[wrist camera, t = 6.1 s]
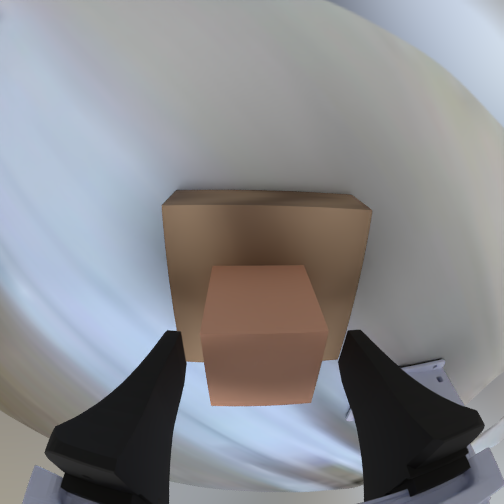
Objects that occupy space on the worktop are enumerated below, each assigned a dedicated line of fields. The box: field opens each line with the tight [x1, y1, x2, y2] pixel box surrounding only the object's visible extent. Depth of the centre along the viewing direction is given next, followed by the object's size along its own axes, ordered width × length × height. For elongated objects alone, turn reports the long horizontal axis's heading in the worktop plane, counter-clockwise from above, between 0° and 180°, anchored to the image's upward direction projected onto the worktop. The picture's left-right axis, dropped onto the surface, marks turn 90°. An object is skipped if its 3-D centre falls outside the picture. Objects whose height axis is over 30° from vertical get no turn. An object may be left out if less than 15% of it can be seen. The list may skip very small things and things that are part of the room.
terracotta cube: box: [200, 265, 329, 406], centre depth 13 cm, size 4×4×5 cm
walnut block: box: [162, 190, 372, 362], centre depth 17 cm, size 10×10×4 cm
